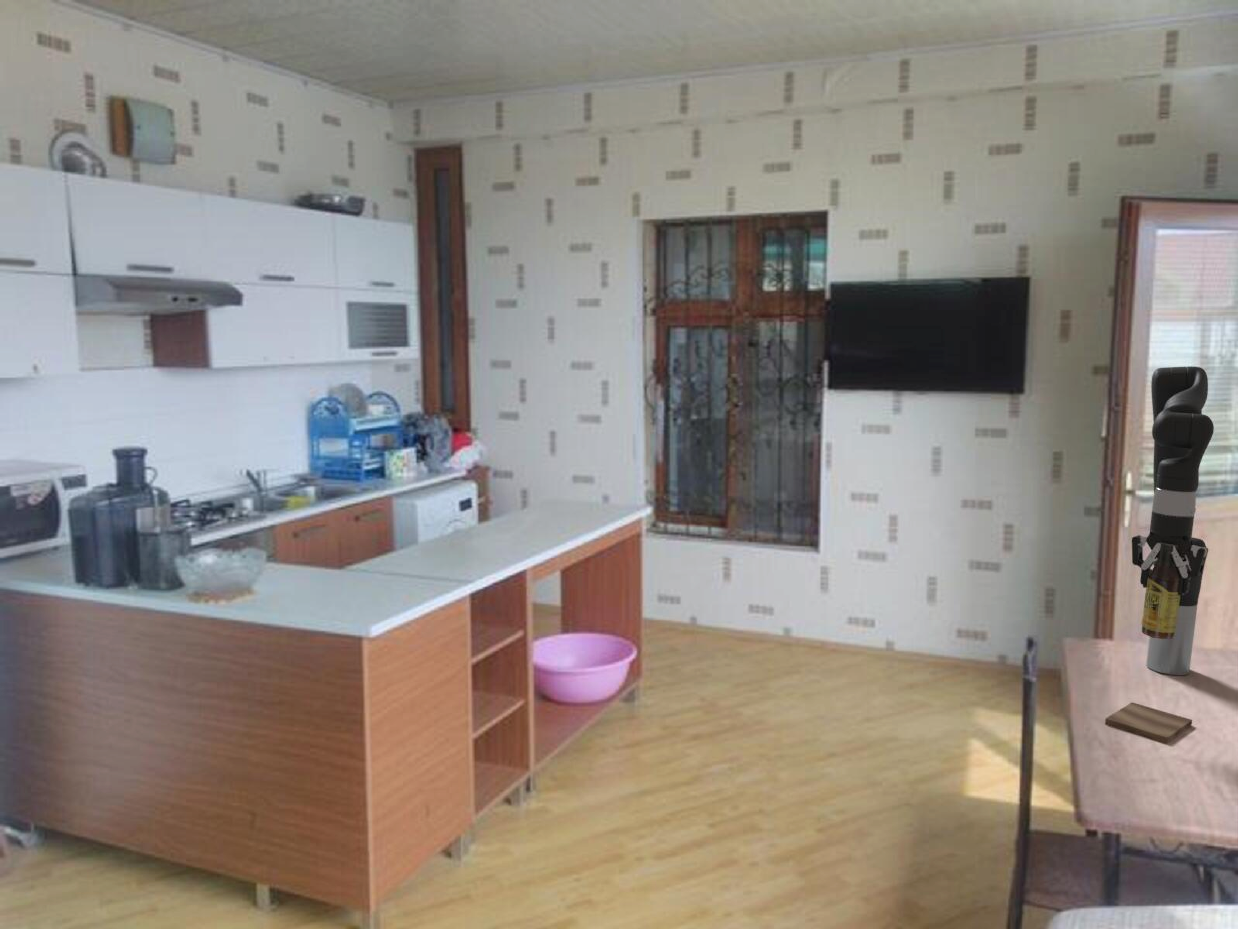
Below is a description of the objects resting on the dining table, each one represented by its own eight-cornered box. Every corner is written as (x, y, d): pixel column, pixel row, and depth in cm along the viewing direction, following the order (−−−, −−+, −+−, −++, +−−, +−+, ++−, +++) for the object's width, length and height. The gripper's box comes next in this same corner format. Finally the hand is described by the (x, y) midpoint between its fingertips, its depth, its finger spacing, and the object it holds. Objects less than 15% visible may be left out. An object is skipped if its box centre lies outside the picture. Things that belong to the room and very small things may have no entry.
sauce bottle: (1135, 629, 206) (1145, 537, 203) (1166, 631, 206) (1177, 539, 202) (1148, 640, 200) (1159, 545, 197) (1180, 641, 199) (1192, 546, 196)
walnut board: (1131, 707, 214) (1132, 702, 214) (1191, 725, 206) (1192, 720, 205) (1105, 724, 205) (1105, 718, 205) (1166, 743, 196) (1167, 737, 196)
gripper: (1128, 507, 201) (1119, 586, 204) (1206, 519, 191) (1195, 602, 193) (1142, 503, 206) (1134, 580, 209) (1219, 514, 196) (1208, 596, 198)
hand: (1163, 590), depth 201 cm, fingers closed on sauce bottle, 6 cm apart
